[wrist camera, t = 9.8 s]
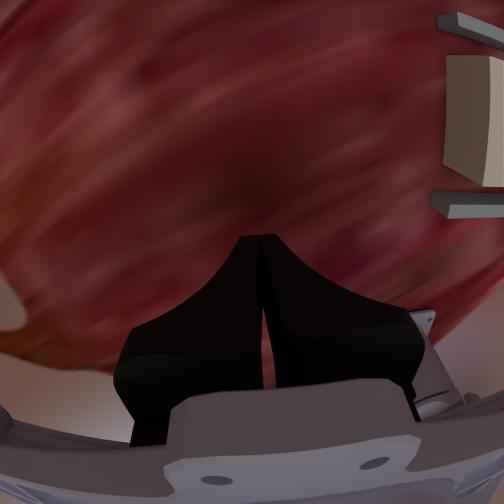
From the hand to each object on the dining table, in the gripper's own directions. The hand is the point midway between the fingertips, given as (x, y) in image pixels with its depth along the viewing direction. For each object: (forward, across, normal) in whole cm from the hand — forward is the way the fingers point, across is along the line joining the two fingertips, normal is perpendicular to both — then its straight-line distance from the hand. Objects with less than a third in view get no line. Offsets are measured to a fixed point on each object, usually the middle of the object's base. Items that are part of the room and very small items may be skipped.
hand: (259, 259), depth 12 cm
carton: (+10, -19, -5) cm, 22 cm away
